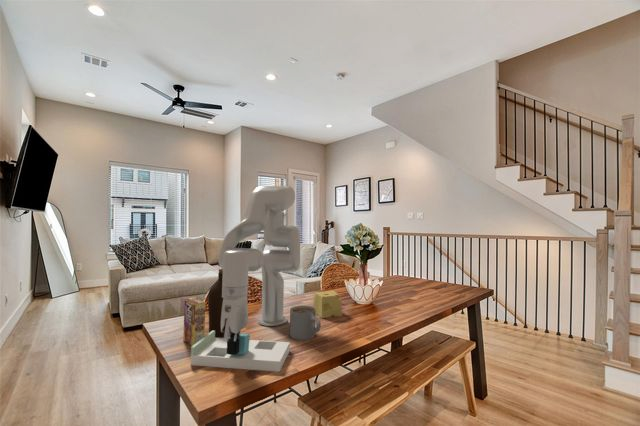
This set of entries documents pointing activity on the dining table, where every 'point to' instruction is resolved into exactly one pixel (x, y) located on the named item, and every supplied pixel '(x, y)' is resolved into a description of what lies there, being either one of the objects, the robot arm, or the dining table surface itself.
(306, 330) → the coffee mug
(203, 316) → the candy box
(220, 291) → the olive oil
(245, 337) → the block
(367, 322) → the dining table surface
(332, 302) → the cheese
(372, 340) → the dining table surface
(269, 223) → the robot arm
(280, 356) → the white board with holes
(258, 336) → the dining table surface
